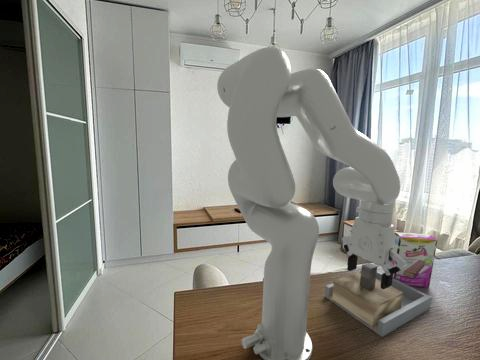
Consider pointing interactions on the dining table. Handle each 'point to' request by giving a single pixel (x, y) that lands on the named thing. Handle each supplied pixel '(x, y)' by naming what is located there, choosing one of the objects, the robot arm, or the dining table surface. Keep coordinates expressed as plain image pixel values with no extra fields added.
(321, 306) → the dining table surface
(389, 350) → the dining table surface
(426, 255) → the candy bar box
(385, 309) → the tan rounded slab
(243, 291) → the dining table surface
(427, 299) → the bay
